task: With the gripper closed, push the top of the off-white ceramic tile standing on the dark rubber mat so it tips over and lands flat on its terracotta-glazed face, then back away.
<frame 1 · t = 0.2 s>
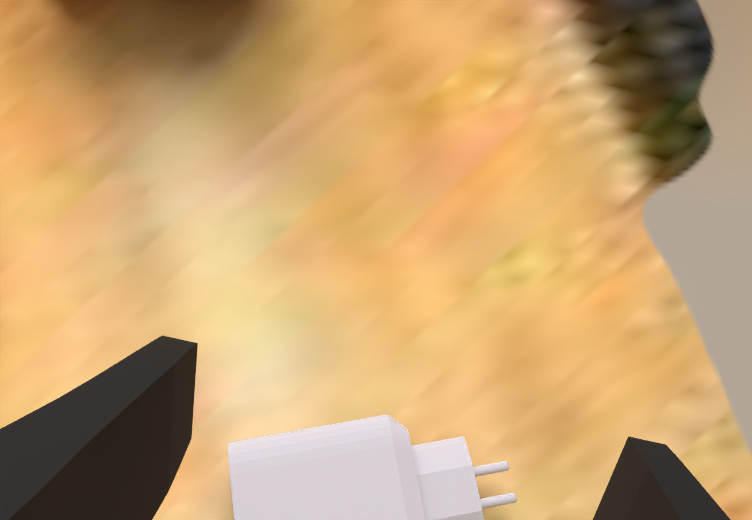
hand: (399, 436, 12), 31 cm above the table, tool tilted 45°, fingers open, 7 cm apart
charger: (378, 506, 41), on the table
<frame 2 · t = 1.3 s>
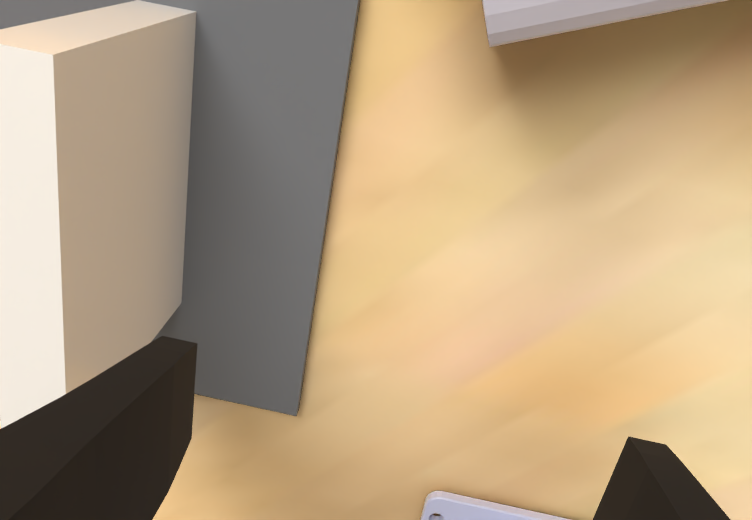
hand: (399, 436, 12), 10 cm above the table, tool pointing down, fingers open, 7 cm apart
mat: (102, 179, 21), on the table
tile: (161, 166, 20), resting on mat
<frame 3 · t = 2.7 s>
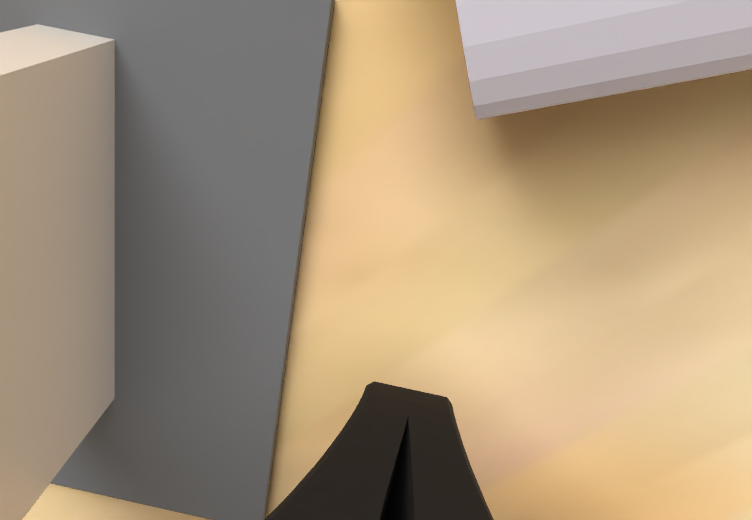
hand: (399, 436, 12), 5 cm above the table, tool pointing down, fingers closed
mat: (10, 248, 17), on the table
tile: (80, 234, 16), resting on mat
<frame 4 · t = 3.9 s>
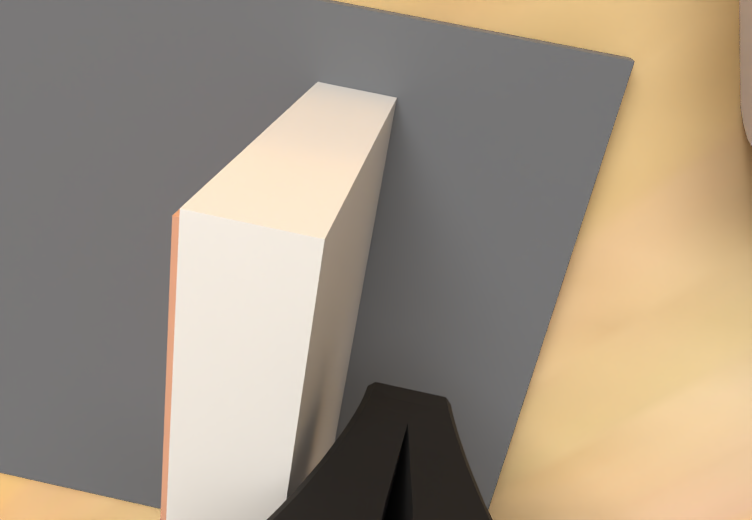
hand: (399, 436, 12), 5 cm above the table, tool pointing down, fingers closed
mat: (242, 298, 17), on the table
tile: (326, 287, 16), resting on mat, touching gripper
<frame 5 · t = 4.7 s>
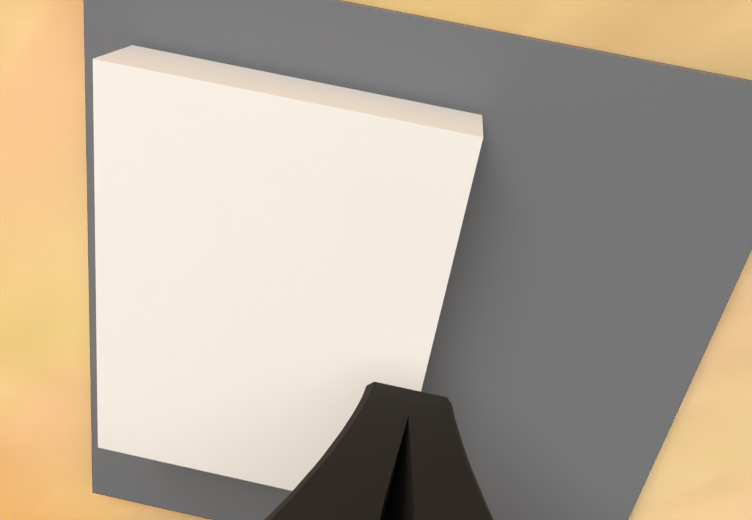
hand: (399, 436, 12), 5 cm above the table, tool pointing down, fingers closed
mat: (382, 327, 16), on the table
tile: (432, 331, 15), point 1 cm above the table, tilted 90°, touching mat
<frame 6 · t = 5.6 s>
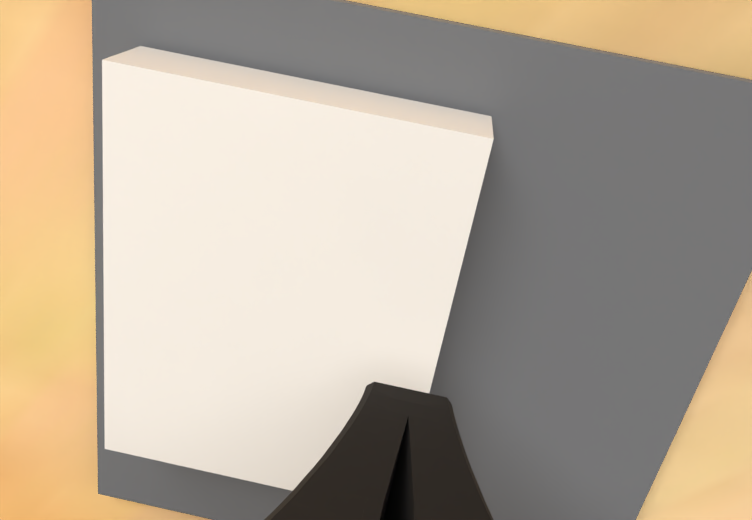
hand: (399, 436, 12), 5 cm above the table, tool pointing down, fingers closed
mat: (389, 328, 16), on the table
tile: (440, 332, 15), point 1 cm above the table, tilted 90°, touching mat
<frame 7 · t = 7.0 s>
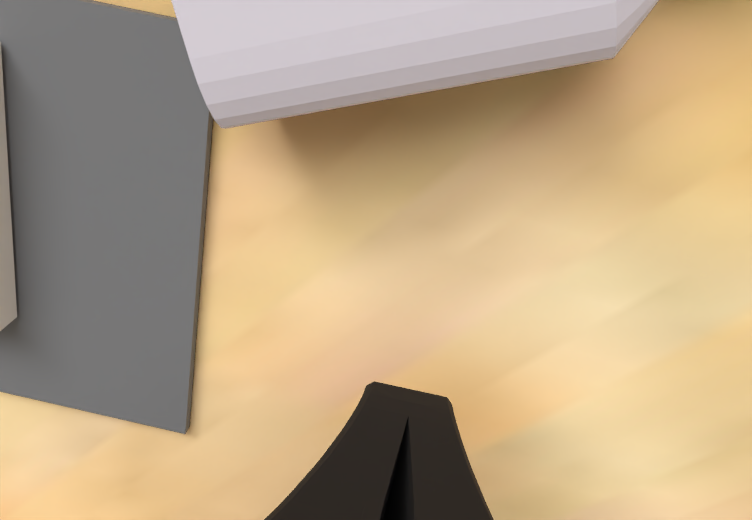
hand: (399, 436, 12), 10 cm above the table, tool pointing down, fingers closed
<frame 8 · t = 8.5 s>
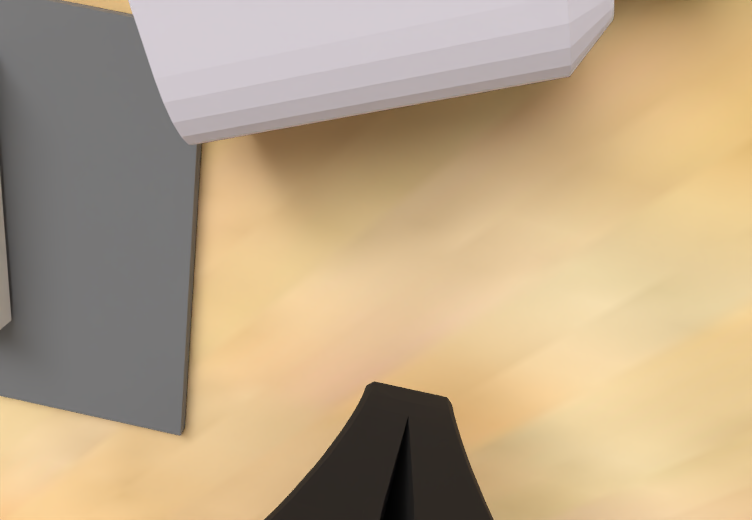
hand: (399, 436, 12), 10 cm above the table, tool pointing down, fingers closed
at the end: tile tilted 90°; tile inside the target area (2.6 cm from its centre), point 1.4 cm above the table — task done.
